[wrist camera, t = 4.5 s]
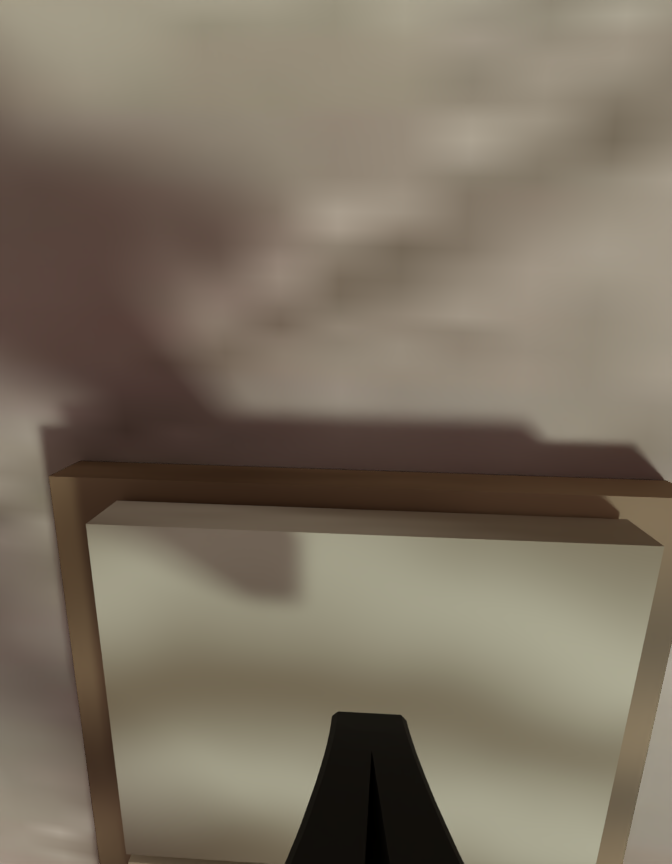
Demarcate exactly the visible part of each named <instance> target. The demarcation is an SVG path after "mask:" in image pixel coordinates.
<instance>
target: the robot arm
mask: <svg viewBox="0 0 672 864" xmlns="http://www.w3.org/2000/svg"><path fill="white" fill-rule="evenodd" d="M285 864H464V862H463V860H462V858H461V856H460V854H459V852H458V850H457V847H456V845H455V843H454V841H453V839H452V836H451V834H450V832H449V830H448V828H447V825H446V823H445V821H444V819H443V817H442V814H441V812H440V810H439V808H438V805H437V803H436V801H435V798H434V796H433V794H432V791H431V789H430V786H429V784H428V781H427V779H426V776H425V774H424V771H423V769H422V766H421V763H420V761H419V758H418V755H417V753H416V750H415V747H414V744H413V741H412V738H411V735H410V731H409V728H408V724H407V721H406V719H405V718H404V717H403V716H402V715H397V714H378V713H359V712H341V711H338V712H336V713H335V714H334V715H333V716H332V719H331V726H330V732H329V736H328V741H327V745H326V749H325V753H324V756H323V760H322V763H321V767H320V770H319V773H318V776H317V780H316V783H315V786H314V789H313V791H312V794H311V797H310V800H309V802H308V805H307V808H306V811H305V814H304V816H303V819H302V822H301V825H300V827H299V830H298V833H297V835H296V838H295V840H294V843H293V845H292V847H291V850H290V852H289V854H288V857H287V859H286V862H285Z"/></svg>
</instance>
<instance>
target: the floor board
mask: <svg viewBox="0 0 672 864" xmlns="http://www.w3.org/2000/svg"><path fill="white" fill-rule="evenodd" d="M49 482H50V490H51V497H52V505H53V513H54V520H55V528H56V535H57V543H58V550H59V558H60V566H61V573H62V581H63V588H64V596H65V604H66V611H67V619H68V626H69V634H70V641H71V649H72V657H73V664H74V672H75V679H76V687H77V695H78V702H79V710H80V717H81V725H82V732H83V740H84V748H85V755H86V763H87V770H88V778H89V786H90V793H91V801H92V808H93V816H94V823H95V831H96V839H97V846H98V854H99V861H100V864H266V863H251V862H236V861H220V860H205V859H190V858H175V857H159V856H144V855H129V854H126V848H125V840H124V832H123V824H122V816H121V808H120V799H119V791H118V783H117V775H116V767H115V759H114V750H113V742H112V734H111V726H110V718H109V710H108V701H107V693H106V685H105V677H104V669H103V661H102V652H101V644H100V636H99V628H98V620H97V612H96V603H95V595H94V587H93V579H92V571H91V563H90V554H89V546H88V538H87V530H86V523H88V522H89V521H90V520H92V519H93V518H94V517H96V516H97V515H98V514H100V513H101V512H102V511H104V510H105V509H106V508H108V507H109V506H110V505H112V504H113V503H114V502H116V501H141V502H168V503H196V504H223V505H250V506H277V507H305V508H332V509H359V510H386V511H414V512H441V513H468V514H495V515H523V516H550V517H577V518H604V519H628V520H629V521H630V522H632V523H633V524H635V525H636V526H637V527H639V528H640V529H641V530H643V531H644V532H645V533H647V534H648V535H650V536H651V537H652V538H654V539H655V540H656V541H658V542H659V543H660V544H662V545H663V546H665V547H664V551H663V556H662V560H661V565H660V570H659V574H658V579H657V584H656V588H655V593H654V598H653V602H652V607H651V611H650V616H649V621H648V625H647V630H646V635H645V639H644V644H643V648H642V653H641V658H640V662H639V667H638V672H637V676H636V681H635V685H634V690H633V695H632V699H631V704H630V709H629V713H628V718H627V723H626V727H625V732H624V736H623V741H622V746H621V750H620V755H619V760H618V764H617V769H616V773H615V778H614V783H613V787H612V792H611V797H610V801H609V806H608V811H607V815H606V820H605V824H604V829H603V834H602V838H601V843H600V848H599V852H598V857H597V861H596V864H623V859H624V855H625V850H626V846H627V841H628V837H629V832H630V828H631V823H632V819H633V814H634V810H635V805H636V801H637V796H638V792H639V787H640V783H641V778H642V774H643V769H644V765H645V760H646V756H647V751H648V747H649V742H650V738H651V733H652V729H653V724H654V720H655V715H656V711H657V707H658V702H659V698H660V693H661V689H662V684H663V680H664V675H665V671H666V666H667V662H668V657H669V653H670V648H671V644H672V483H670V482H668V481H665V480H635V479H605V478H575V477H545V476H516V475H486V474H456V473H426V472H396V471H367V470H337V469H307V468H277V467H247V466H218V465H188V464H158V463H128V462H98V461H79V462H77V463H75V464H73V465H71V466H69V467H67V468H65V469H63V470H61V471H59V472H57V473H55V474H53V475H50V476H49Z"/></svg>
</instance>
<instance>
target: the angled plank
mask: <svg viewBox="0 0 672 864" xmlns="http://www.w3.org/2000/svg"><path fill="white" fill-rule="evenodd" d="M86 530H87V538H88V546H89V554H90V563H91V571H92V579H93V587H94V595H95V603H96V612H97V620H98V628H99V636H100V644H101V652H102V661H103V669H104V677H105V685H106V693H107V701H108V710H109V718H110V726H111V734H112V742H113V750H114V759H115V767H116V775H117V783H118V791H119V799H120V808H121V816H122V824H123V832H124V840H125V848H126V854H129V855H144V856H159V857H175V858H190V859H205V860H220V861H236V862H251V863H266V864H285V862H286V859H287V857H288V854H289V852H290V850H291V847H292V845H293V843H294V840H295V838H296V835H297V833H298V830H299V827H300V825H301V822H302V819H303V816H304V814H305V811H306V808H307V805H308V802H309V800H310V797H311V794H312V791H313V789H314V786H315V783H316V780H317V776H318V773H319V770H320V767H321V763H322V760H323V756H324V753H325V749H326V745H327V741H328V736H329V732H330V726H331V719H332V716H333V715H334V714H335V713H336V712H338V711H341V712H359V713H378V714H397V715H402V716H403V717H404V718H405V719H406V721H407V724H408V728H409V731H410V735H411V738H412V741H413V744H414V747H415V750H416V753H417V755H418V758H419V761H420V763H421V766H422V769H423V771H424V774H425V776H426V779H427V781H428V784H429V786H430V789H431V791H432V794H433V796H434V798H435V801H436V803H437V805H438V808H439V810H440V812H441V814H442V817H443V819H444V821H445V823H446V825H447V828H448V830H449V832H450V834H451V836H452V839H453V841H454V843H455V845H456V847H457V850H458V852H459V854H460V856H461V858H462V860H463V862H464V864H596V861H597V857H598V852H599V848H600V843H601V838H602V834H603V829H604V824H605V820H606V815H607V811H608V806H609V801H610V797H611V792H612V787H613V783H614V778H615V773H616V769H617V764H618V760H619V755H620V750H621V746H622V741H623V736H624V732H625V727H626V723H627V718H628V713H629V709H630V704H631V699H632V695H633V690H634V685H635V681H636V676H637V672H638V667H639V662H640V658H641V653H642V648H643V644H644V639H645V635H646V630H647V625H648V621H649V616H650V611H651V607H652V602H653V598H654V593H655V588H656V584H657V579H658V574H659V570H660V565H661V560H662V556H663V551H664V547H665V546H663V545H662V544H660V543H659V542H658V541H656V540H655V539H654V538H652V537H651V536H650V535H648V534H647V533H645V532H644V531H643V530H641V529H640V528H639V527H637V526H636V525H635V524H633V523H632V522H630V521H629V520H628V519H604V518H577V517H550V516H523V515H495V514H468V513H441V512H414V511H386V510H359V509H332V508H305V507H277V506H250V505H223V504H196V503H168V502H141V501H116V502H114V503H113V504H112V505H110V506H109V507H108V508H106V509H105V510H104V511H102V512H101V513H100V514H98V515H97V516H96V517H94V518H93V519H92V520H90V521H89V522H88V523H86Z"/></svg>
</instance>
